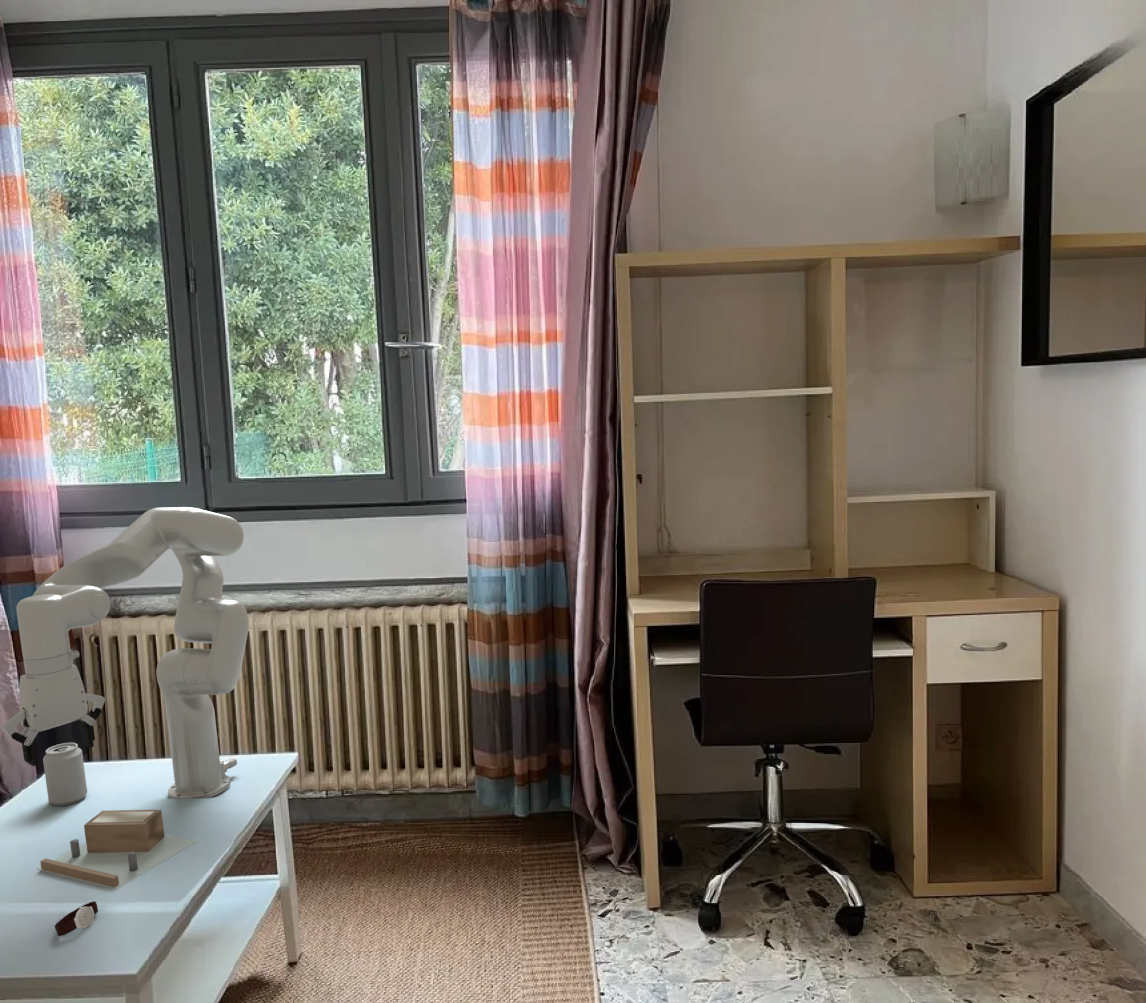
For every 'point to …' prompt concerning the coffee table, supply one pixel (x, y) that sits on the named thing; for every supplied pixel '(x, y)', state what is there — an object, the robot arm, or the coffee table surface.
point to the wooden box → (124, 831)
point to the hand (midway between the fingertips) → (61, 755)
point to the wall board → (112, 862)
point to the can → (65, 774)
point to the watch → (77, 919)
